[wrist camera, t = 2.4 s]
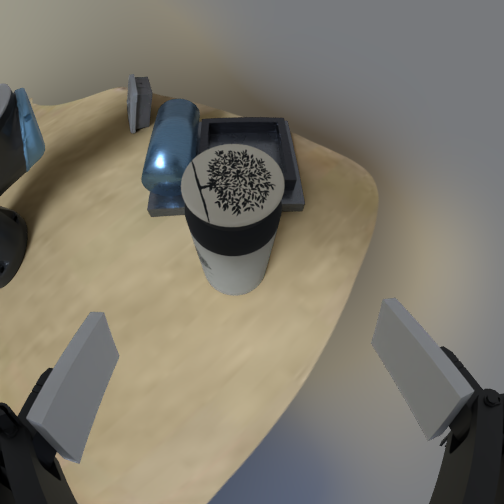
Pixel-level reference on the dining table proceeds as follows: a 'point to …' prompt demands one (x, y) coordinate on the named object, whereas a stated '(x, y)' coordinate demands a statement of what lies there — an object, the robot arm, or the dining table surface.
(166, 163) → the base
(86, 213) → the dining table surface
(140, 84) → the electrical switch
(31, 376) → the dining table surface
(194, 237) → the travel mug
